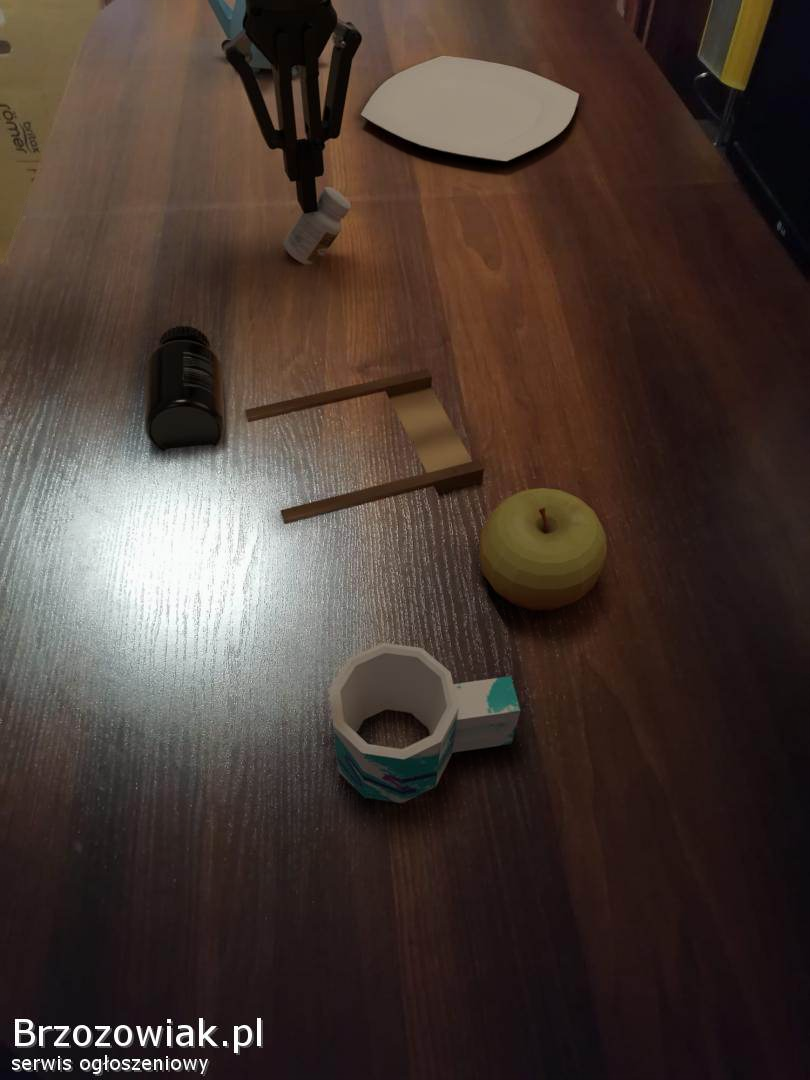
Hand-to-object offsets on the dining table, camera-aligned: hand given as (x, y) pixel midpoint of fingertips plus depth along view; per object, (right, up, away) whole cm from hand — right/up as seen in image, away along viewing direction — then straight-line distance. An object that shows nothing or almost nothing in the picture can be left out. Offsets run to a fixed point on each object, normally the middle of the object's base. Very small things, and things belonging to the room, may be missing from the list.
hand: (307, 205), depth 91 cm
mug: (+12, -50, -30) cm, 60 cm away
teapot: (-10, +36, +37) cm, 52 cm away
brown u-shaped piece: (+6, -27, -12) cm, 31 cm away
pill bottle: (-2, -4, +5) cm, 6 cm away
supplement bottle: (-9, -26, -16) cm, 32 cm away
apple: (+21, -39, -21) cm, 48 cm away
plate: (+19, +23, +28) cm, 41 cm away
